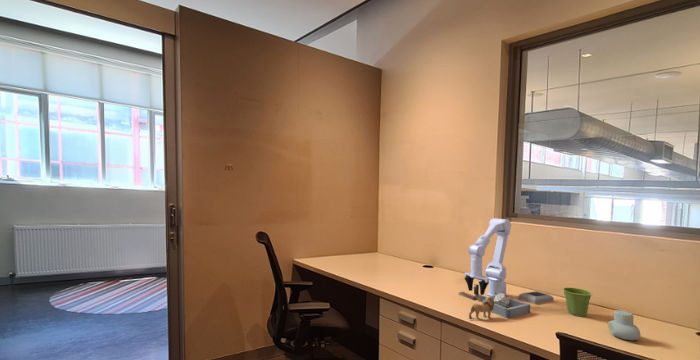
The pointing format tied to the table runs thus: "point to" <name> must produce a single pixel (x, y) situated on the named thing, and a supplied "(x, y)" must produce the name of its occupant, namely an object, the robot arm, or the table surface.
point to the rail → (467, 295)
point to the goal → (511, 309)
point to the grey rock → (501, 300)
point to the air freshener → (624, 326)
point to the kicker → (476, 291)
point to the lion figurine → (483, 308)
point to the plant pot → (577, 301)
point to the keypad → (536, 297)
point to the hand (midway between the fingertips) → (476, 292)
